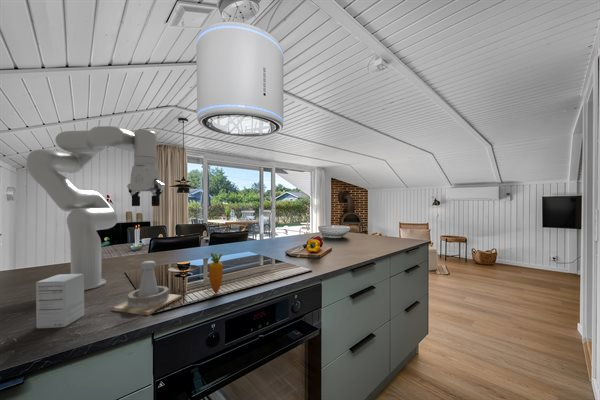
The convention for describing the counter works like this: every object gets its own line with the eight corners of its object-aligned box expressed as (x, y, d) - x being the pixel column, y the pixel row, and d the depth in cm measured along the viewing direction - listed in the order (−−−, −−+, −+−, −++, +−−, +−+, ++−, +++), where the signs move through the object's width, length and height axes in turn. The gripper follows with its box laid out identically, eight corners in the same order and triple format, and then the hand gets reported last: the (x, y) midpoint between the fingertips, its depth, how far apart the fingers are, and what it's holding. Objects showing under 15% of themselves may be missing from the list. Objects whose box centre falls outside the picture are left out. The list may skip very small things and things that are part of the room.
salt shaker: (149, 304, 81) (148, 263, 81) (133, 303, 82) (133, 263, 82) (162, 298, 87) (162, 259, 87) (147, 297, 88) (147, 259, 88)
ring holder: (112, 310, 79) (112, 297, 79) (149, 294, 93) (149, 283, 93) (147, 315, 76) (147, 301, 76) (181, 298, 89) (181, 286, 89)
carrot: (225, 291, 95) (225, 251, 95) (217, 296, 90) (217, 254, 90) (214, 290, 96) (214, 250, 97) (205, 295, 92) (205, 253, 92)
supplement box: (58, 316, 75) (58, 273, 76) (85, 315, 76) (85, 273, 76) (34, 329, 68) (34, 281, 68) (64, 327, 69) (64, 280, 69)
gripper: (119, 162, 99) (119, 206, 98) (155, 159, 94) (155, 206, 94) (136, 164, 106) (136, 205, 106) (170, 162, 101) (171, 205, 101)
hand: (145, 206), depth 100 cm, fingers open, 9 cm apart
